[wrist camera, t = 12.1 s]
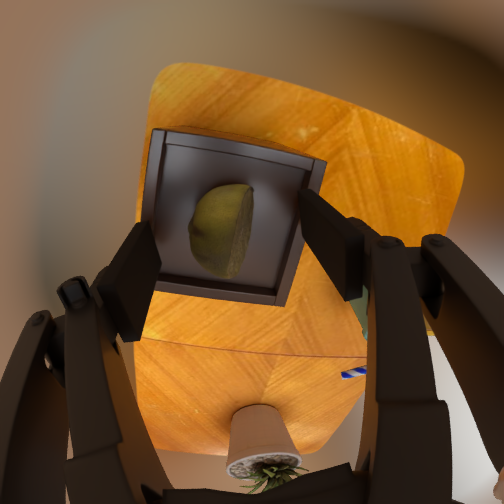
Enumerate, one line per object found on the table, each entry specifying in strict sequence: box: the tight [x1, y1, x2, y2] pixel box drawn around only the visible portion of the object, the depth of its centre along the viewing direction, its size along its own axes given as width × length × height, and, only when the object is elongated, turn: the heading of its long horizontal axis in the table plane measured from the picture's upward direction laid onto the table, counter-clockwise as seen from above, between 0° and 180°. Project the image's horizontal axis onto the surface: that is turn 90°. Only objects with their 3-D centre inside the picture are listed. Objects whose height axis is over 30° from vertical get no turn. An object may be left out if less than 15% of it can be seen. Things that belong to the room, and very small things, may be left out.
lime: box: [188, 184, 254, 279], centre depth 16 cm, size 4×5×5 cm
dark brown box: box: [141, 126, 327, 307], centre depth 24 cm, size 10×10×15 cm
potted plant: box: [226, 405, 309, 494], centre depth 40 cm, size 13×14×20 cm
